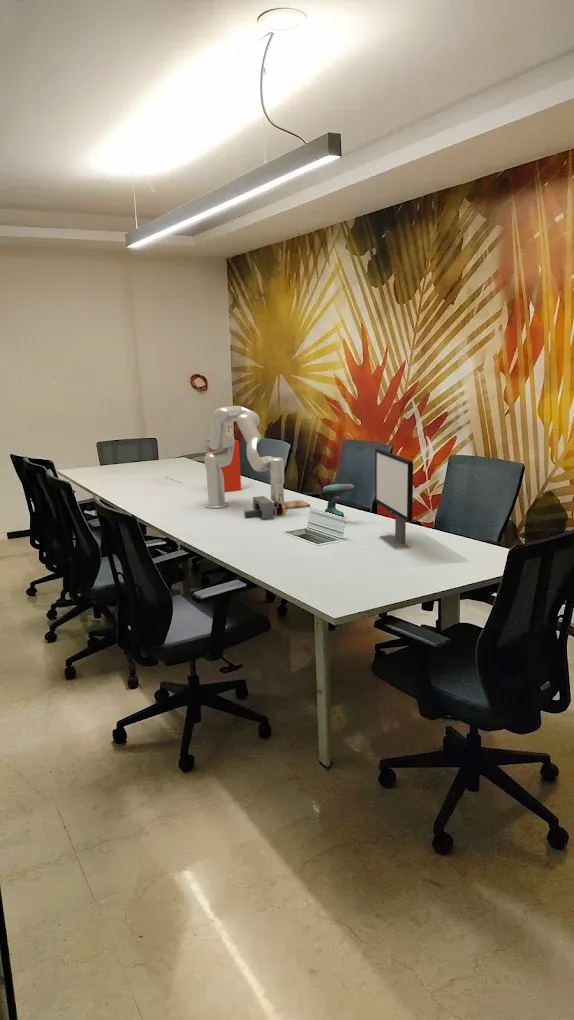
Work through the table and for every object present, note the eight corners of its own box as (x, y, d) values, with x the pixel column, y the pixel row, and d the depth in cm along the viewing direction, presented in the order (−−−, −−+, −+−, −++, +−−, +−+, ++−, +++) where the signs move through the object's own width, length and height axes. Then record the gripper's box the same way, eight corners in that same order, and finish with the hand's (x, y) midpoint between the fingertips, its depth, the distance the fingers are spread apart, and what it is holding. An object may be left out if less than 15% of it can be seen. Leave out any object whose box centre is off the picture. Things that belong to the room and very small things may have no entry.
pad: (266, 511, 362) (266, 509, 362) (259, 506, 375) (259, 504, 375) (310, 506, 370) (310, 504, 370) (302, 502, 383) (302, 500, 383)
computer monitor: (370, 532, 313) (370, 449, 304) (387, 530, 315) (387, 448, 306) (402, 556, 274) (403, 462, 265) (421, 554, 276) (423, 460, 267)
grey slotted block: (262, 520, 342) (261, 503, 340) (253, 513, 359) (252, 497, 357) (273, 519, 344) (272, 502, 342) (264, 511, 361) (263, 496, 359)
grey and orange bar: (246, 518, 347) (245, 511, 346) (244, 517, 351) (243, 509, 350) (287, 514, 353) (287, 507, 353) (285, 512, 358) (285, 505, 357)
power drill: (352, 524, 328) (352, 485, 324) (321, 522, 334) (320, 484, 329) (355, 521, 335) (355, 482, 330) (325, 519, 340) (324, 481, 336)
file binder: (212, 490, 424) (209, 441, 416) (237, 488, 430) (235, 439, 422) (215, 493, 416) (212, 443, 409) (241, 490, 422) (239, 441, 415)
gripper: (266, 478, 357) (267, 511, 361) (275, 483, 341) (276, 517, 345) (279, 477, 359) (280, 509, 363) (288, 482, 343) (289, 516, 347)
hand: (278, 513), depth 354 cm, fingers closed on grey and orange bar, 4 cm apart
